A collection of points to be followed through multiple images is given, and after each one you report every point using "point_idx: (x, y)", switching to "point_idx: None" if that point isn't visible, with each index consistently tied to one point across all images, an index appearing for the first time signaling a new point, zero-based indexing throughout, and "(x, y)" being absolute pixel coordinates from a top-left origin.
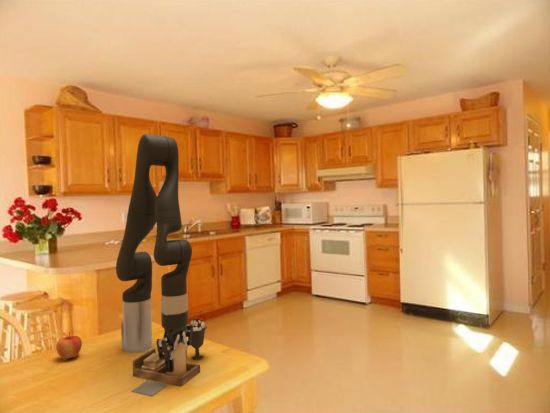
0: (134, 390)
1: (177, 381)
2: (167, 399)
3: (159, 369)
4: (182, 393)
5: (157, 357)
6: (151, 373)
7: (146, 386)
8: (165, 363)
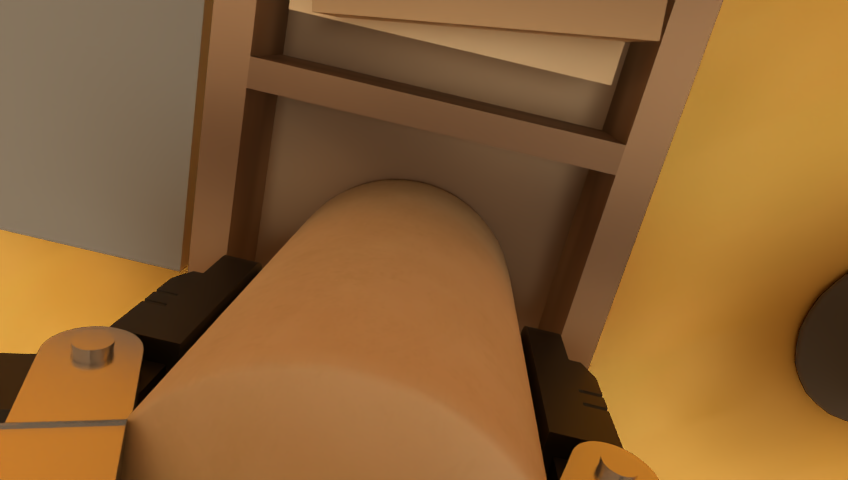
0: None
1: None
2: (5, 351)
3: (327, 99)
4: None
5: None
6: (214, 25)
7: (79, 54)
8: (125, 323)
